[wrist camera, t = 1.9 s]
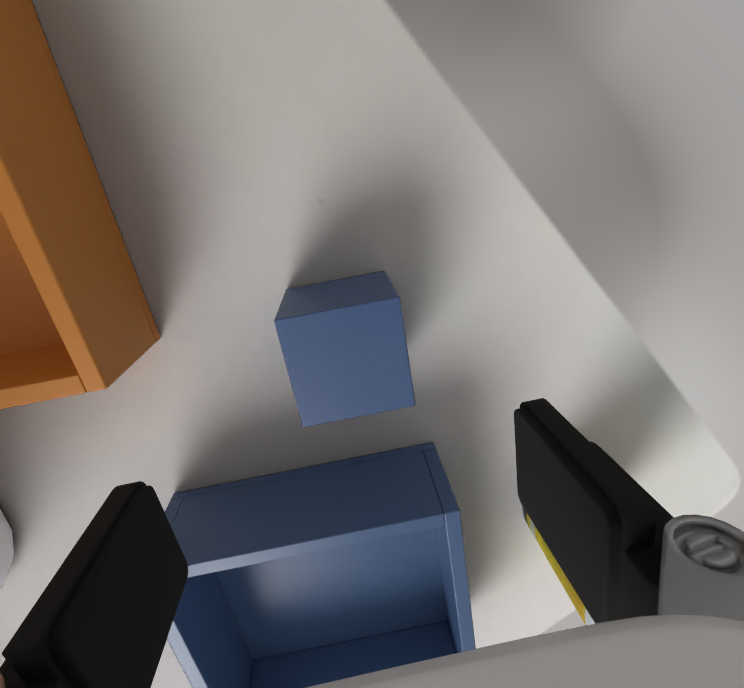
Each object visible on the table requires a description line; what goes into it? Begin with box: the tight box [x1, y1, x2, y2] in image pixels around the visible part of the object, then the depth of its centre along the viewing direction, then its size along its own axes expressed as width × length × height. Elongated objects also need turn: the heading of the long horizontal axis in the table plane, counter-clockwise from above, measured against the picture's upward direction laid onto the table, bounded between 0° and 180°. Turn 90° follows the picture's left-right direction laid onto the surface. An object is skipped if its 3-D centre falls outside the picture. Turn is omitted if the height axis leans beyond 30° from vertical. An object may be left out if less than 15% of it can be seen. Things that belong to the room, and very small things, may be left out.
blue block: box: [274, 271, 415, 427], centre depth 20 cm, size 5×5×5 cm
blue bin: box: [165, 442, 476, 688], centre depth 25 cm, size 16×16×6 cm
